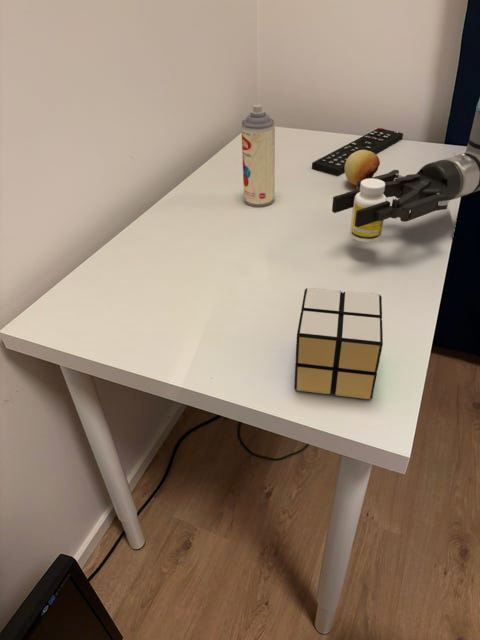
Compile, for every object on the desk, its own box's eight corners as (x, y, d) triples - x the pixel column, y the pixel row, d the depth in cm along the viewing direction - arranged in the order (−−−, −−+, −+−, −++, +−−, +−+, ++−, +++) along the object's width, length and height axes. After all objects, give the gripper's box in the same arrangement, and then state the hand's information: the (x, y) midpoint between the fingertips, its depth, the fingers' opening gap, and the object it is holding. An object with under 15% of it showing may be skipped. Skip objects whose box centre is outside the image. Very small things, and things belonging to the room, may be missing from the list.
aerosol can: (241, 195, 110) (237, 102, 97) (270, 192, 111) (270, 99, 98) (247, 208, 105) (243, 112, 92) (277, 205, 106) (278, 109, 93)
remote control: (402, 138, 134) (404, 131, 133) (337, 176, 116) (338, 168, 115) (378, 133, 138) (379, 126, 137) (311, 168, 120) (312, 160, 119)
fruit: (376, 179, 114) (381, 145, 109) (376, 194, 108) (381, 159, 103) (343, 177, 116) (347, 143, 111) (341, 192, 109) (345, 157, 104)
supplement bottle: (383, 242, 84) (393, 189, 78) (352, 243, 84) (359, 190, 78) (377, 227, 88) (385, 175, 82) (347, 228, 89) (353, 176, 82)
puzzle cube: (301, 341, 71) (305, 286, 65) (371, 349, 70) (381, 292, 63) (293, 391, 64) (296, 334, 57) (371, 401, 62) (383, 343, 56)
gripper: (413, 145, 93) (314, 172, 85) (494, 177, 80) (386, 212, 72) (406, 182, 98) (311, 211, 90) (481, 218, 85) (379, 255, 77)
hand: (345, 211), depth 81 cm, fingers closed on supplement bottle, 5 cm apart
